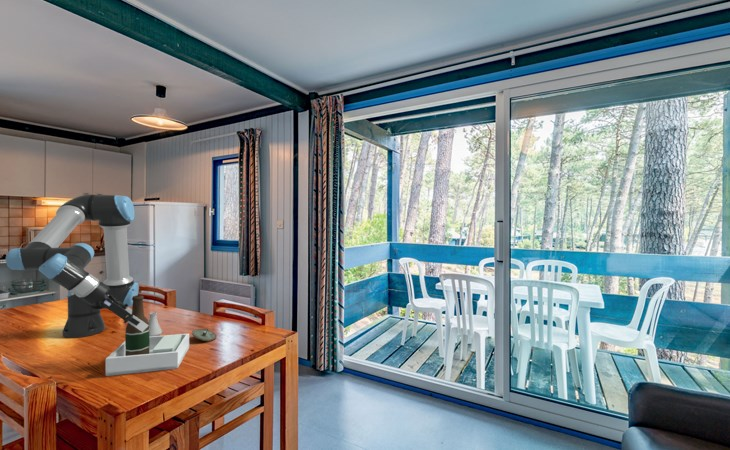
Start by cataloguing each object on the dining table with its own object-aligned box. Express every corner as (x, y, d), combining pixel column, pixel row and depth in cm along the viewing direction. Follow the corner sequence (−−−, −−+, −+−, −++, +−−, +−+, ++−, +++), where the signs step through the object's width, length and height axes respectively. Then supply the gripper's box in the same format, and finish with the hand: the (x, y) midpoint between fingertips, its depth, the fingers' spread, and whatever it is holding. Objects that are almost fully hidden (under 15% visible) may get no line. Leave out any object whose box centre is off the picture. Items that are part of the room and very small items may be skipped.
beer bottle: (133, 355, 129) (133, 293, 128) (154, 354, 129) (154, 293, 129) (120, 364, 121) (120, 298, 120) (142, 363, 122) (142, 298, 121)
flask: (153, 338, 150) (153, 316, 149) (139, 336, 151) (139, 314, 151) (165, 332, 157) (165, 311, 156) (152, 331, 158) (152, 310, 158)
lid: (197, 335, 154) (197, 324, 154) (219, 335, 155) (219, 324, 155) (187, 344, 143) (187, 332, 143) (211, 343, 144) (211, 332, 144)
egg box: (163, 349, 134) (163, 336, 134) (181, 348, 136) (181, 334, 136) (152, 365, 120) (152, 350, 120) (172, 363, 122) (172, 348, 122)
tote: (128, 353, 133) (128, 338, 133) (189, 347, 139) (189, 333, 139) (105, 376, 114) (105, 358, 114) (177, 368, 120) (177, 352, 120)
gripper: (79, 291, 123) (128, 324, 133) (82, 306, 104) (139, 341, 115) (97, 276, 126) (144, 308, 137) (103, 287, 108) (157, 323, 118)
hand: (142, 323), depth 126 cm, fingers open, 13 cm apart
